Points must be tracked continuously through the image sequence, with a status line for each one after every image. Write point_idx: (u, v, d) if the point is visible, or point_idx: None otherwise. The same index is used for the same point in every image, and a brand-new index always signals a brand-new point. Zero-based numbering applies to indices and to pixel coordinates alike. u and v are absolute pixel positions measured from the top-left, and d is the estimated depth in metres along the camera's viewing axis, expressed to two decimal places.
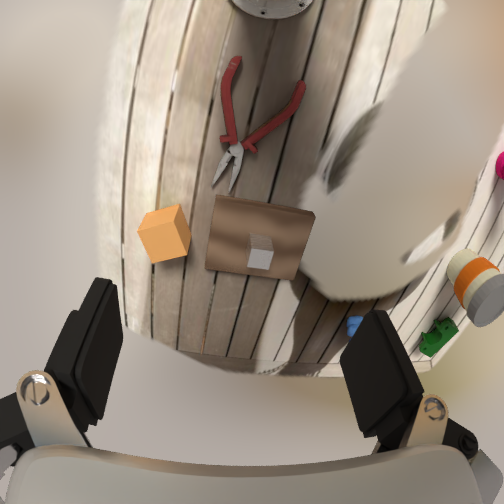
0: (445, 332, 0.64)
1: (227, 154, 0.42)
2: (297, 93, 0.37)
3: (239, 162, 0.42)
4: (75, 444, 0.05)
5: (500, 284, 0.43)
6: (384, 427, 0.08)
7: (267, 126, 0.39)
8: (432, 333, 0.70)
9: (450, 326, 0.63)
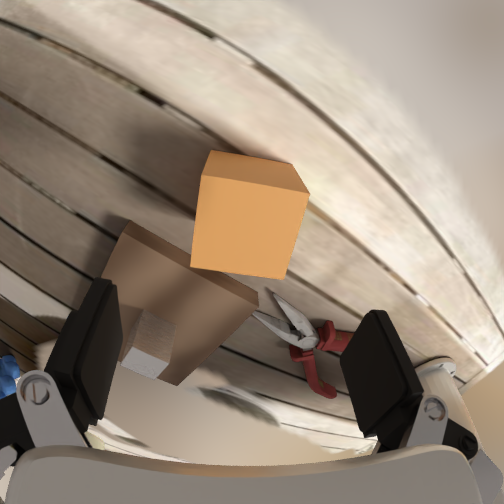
0: None
1: (309, 333, 0.29)
2: (328, 395, 0.35)
3: (290, 341, 0.29)
4: (75, 444, 0.05)
5: None
6: (384, 427, 0.08)
7: (314, 373, 0.32)
8: None
9: None
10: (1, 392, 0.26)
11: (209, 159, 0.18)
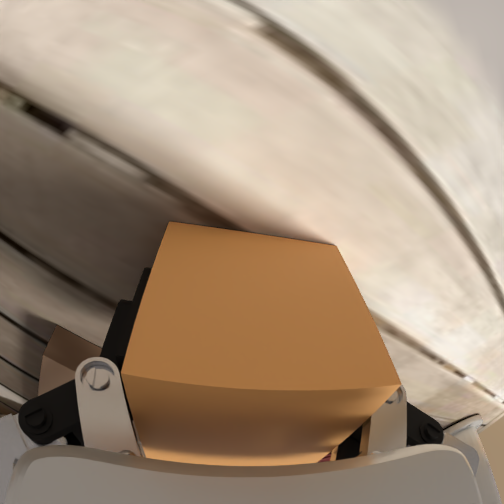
0: None
1: None
2: None
3: None
4: (125, 436, 0.05)
5: None
6: None
7: None
8: None
9: None
10: None
11: (157, 268, 0.08)
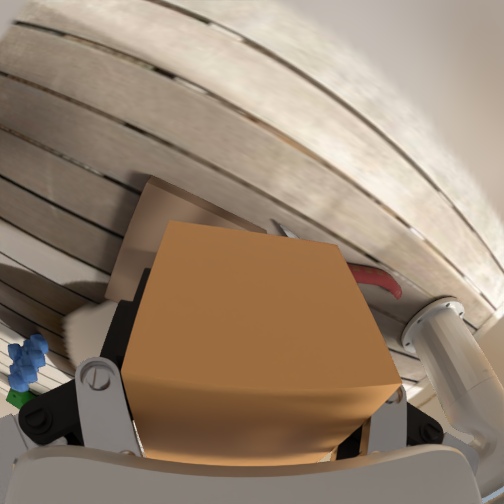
0: None
1: None
2: None
3: None
4: (125, 436, 0.05)
5: None
6: None
7: None
8: (28, 394, 0.50)
9: None
10: (30, 366, 0.32)
11: (157, 267, 0.08)
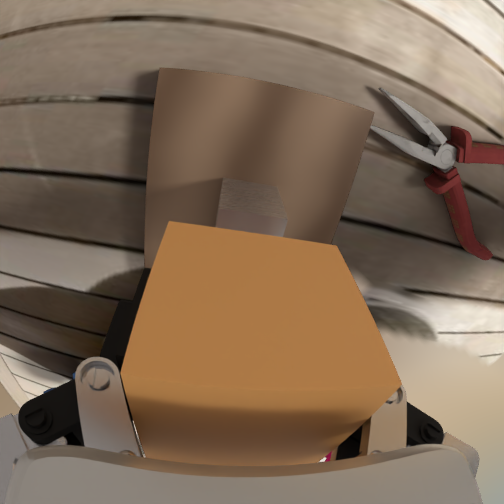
0: None
1: (443, 138, 0.17)
2: (486, 252, 0.22)
3: (426, 158, 0.18)
4: (125, 436, 0.05)
5: None
6: None
7: (466, 212, 0.20)
8: None
9: None
10: None
11: (156, 268, 0.08)
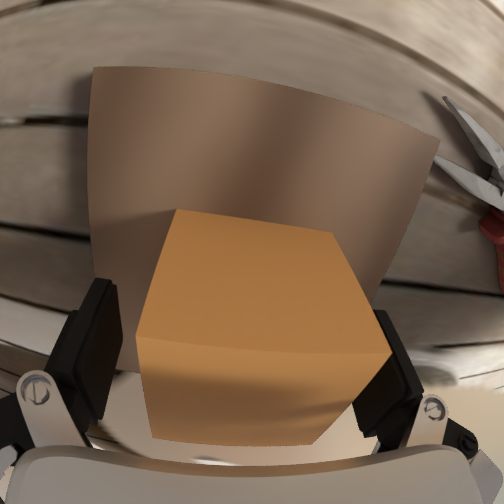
0: None
1: None
2: None
3: (492, 199, 0.12)
4: (75, 444, 0.05)
5: None
6: (384, 427, 0.08)
7: None
8: None
9: None
10: None
11: (166, 248, 0.08)
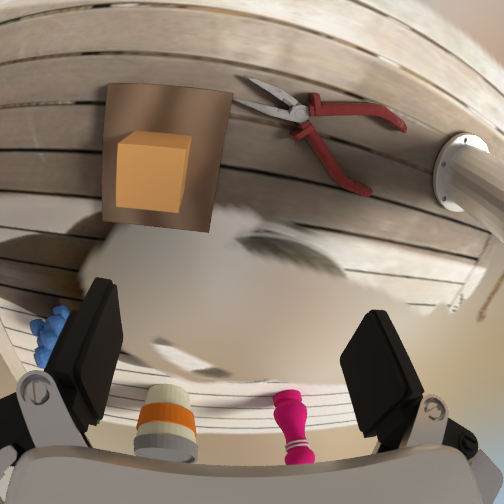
0: None
1: (294, 101, 0.28)
2: (362, 189, 0.34)
3: (282, 116, 0.29)
4: (75, 444, 0.05)
5: (193, 454, 0.44)
6: (384, 427, 0.08)
7: (328, 154, 0.31)
8: None
9: None
10: (50, 331, 0.33)
11: (129, 135, 0.25)
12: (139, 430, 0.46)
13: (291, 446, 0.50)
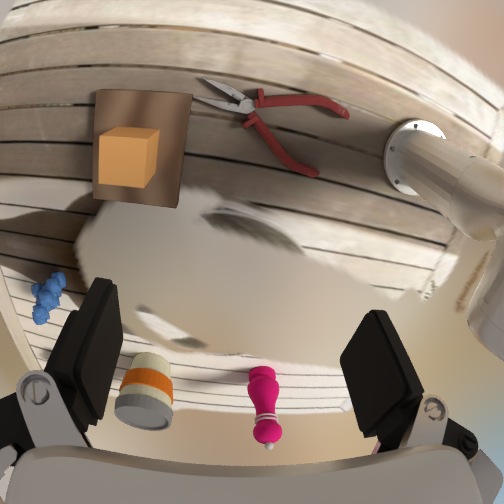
0: None
1: (242, 96, 0.34)
2: (308, 169, 0.40)
3: (232, 108, 0.35)
4: (75, 444, 0.05)
5: (166, 416, 0.51)
6: (384, 427, 0.08)
7: (273, 139, 0.37)
8: None
9: None
10: (47, 290, 0.41)
11: (110, 130, 0.32)
12: (120, 392, 0.53)
13: (259, 418, 0.56)
